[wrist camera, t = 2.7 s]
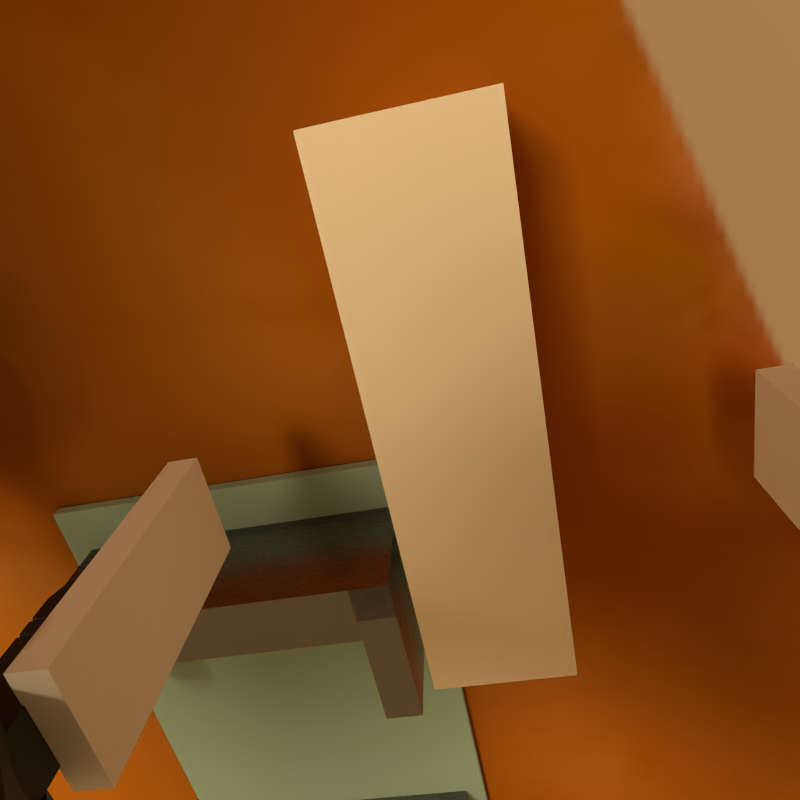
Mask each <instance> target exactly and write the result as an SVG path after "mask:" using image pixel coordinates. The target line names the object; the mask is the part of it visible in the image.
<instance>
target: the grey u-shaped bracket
mask: <svg viewBox="0 0 800 800" xmlns="http://www.w3.org/2000/svg"><path fill="white" fill-rule="evenodd" d="M225 533H226V536H227V539H228V541H229V544H230V547H231V548H230V550H229V552H228V555H227V557H226V559H225V561H224V563H223V565H222V567H221V569H220V571H219V573H218V575H217V577H216V579H215V581H214V583H213V586H212V588H211V590H210V592H209V594H208V596H207V598H206V600H205V602H204V604H203V606H202V608H201V610H200V612H199V614H198V617H197V619H196V621H195V623H194V625H193V627H192V629H191V631H190V633H189V635H188V637H187V639H186V641H185V643H184V645H183V647H182V650H181V652H180V654H179V656H178V658H177V660H176V662H175V663H178V662H187V661H195V660H204V659H212V658H221V657H229V656H238V655H246V654H255V653H263V652H272V651H280V650H289V649H297V648H306V647H314V646H323V645H331V644H340V643H348V642H357V641H363V643H364V646H365V649H366V653H367V656H368V659H369V663H370V666H371V669H372V672H373V676H374V679H375V682H376V686H377V689H378V692H379V695H380V699H381V702H382V705H383V709H384V712H385V715H386V718H387V719H391V718H400V717H410V716H420V715H423V690H424V645H423V641H422V637H421V633H420V629H419V626H418V622H417V618H416V614H415V610H414V606H413V602H412V598H411V594H410V590H409V586H408V582H407V578H406V574H405V570H404V566H403V562H402V559H401V555H400V551H399V547H398V543H397V539H396V535H395V531H394V527H393V523H392V519H391V515H390V511H389V507H385V508H378V509H371V510H364V511H357V512H350V513H343V514H336V515H329V516H322V517H315V518H308V519H301V520H294V521H288V522H281V523H274V524H267V525H260V526H253V527H246V528H239V529H232V530H225ZM99 550H100V549H94V550H91V552H90V553H89V554H88V555H87V557H86V558H85V559H84V561H83V562H82V563H81V565H80V566H79V567H78V569H77V570H76V571H75V573H74V574H73V575H72V577H71V578H70V579H69V581H68V582H70V581H71V580H77V579H78V577H79V576H80V575H81V573H82V572H83V571H84V570H85V568H86V567H87V566H88V564H89V563H90V562H91V561H92V559H93V558H94V557H95V555H96V554H97V553H98V552H99ZM68 582H67V583H68ZM67 583H66V584H67ZM66 584H65V585H66Z"/></svg>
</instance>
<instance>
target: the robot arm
mask: <svg viewBox="0 0 800 800" xmlns="http://www.w3.org/2000/svg"><path fill="white" fill-rule="evenodd" d="M754 477H755V479H756V480H757V481H758V482H759V483H760V484H761V486H762V487H763V488H764V489H765V490H766V492H767V493H768V494H769V495H770V496H771V497H772V499H773V500H774V501H775V502H776V503H777V504H778V506H779V507H780V508H781V509H782V510H783V512H784V513H785V514H786V515H787V516H788V517H789V519H790V520H791V521H792V522H793V523H794V525H795V526H796V527H797V528H798V529H799V530H800V369H799V368H797V367H796V366H795V365H793V364H789V365H782V366H776V367H770V368H763V369H757V370H756V375H755V437H754ZM230 548H231V547H230V544H229V541H228V539H227V536H226V533H225V531H224V528H223V525H222V523H221V520H220V517H219V515H218V512H217V509H216V507H215V504H214V501H213V499H212V496H211V493H210V491H209V488H208V485H207V483H206V480H205V477H204V475H203V472H202V469H201V467H200V464H199V461H198V459H197V458H191V459H184V460H178V461H172V462H168V463H167V464H166V466H165V467H164V468H163V469H162V471H161V472H160V473H159V475H158V476H157V477H156V478H155V480H154V481H153V482H152V484H151V485H150V486H149V487H148V489H147V490H146V491H145V493H144V494H143V495H142V496H141V498H140V499H139V500H138V502H137V503H136V504H135V505H134V507H133V508H132V509H131V511H130V512H129V513H128V514H127V516H126V517H125V518H124V520H123V521H122V522H121V523H120V525H119V526H118V527H117V528H116V530H115V531H114V532H113V534H112V535H111V536H110V537H109V539H108V540H107V541H106V543H105V544H104V545H103V546H102V548H101V549H100V550H99V552H98V553H97V554H96V555H95V557H94V558H93V559H92V561H91V562H90V563H89V564H88V566H87V567H86V568H85V570H84V571H83V572H82V573H81V575H80V576H79V577H78V579H77V580H71V581H70V582H68V583H67V584H66V585H65V586H63V587H62V588H61V589H60V590H58V591H57V592H56V593H55V594H53V595H52V596H51V597H50V598H48V600H47V601H46V602H45V603H44V605H43V606H42V607H41V608H40V610H39V611H38V612H37V613H36V614H35V616H34V617H33V621H32V622H29V623H28V624H27V626H26V627H25V628H24V629H23V631H22V632H21V633H20V638H16V639H15V640H14V642H13V643H12V644H11V645H10V647H9V648H8V649H7V650H6V652H5V653H4V654H3V655H2V657H1V658H0V800H53V798H52V797H51V795H50V794H49V792H48V790H47V789H48V787H49V785H50V784H51V782H52V780H53V778H54V777H55V775H56V773H57V772H58V770H59V768H60V770H61V772H62V773H63V775H64V777H65V778H66V780H67V782H68V783H69V785H70V787H71V788H72V790H73V792H75V791H87V790H99V789H111V788H115V786H116V784H117V782H118V780H119V778H120V776H121V774H122V771H123V769H124V767H125V765H126V763H127V761H128V759H129V757H130V755H131V753H132V751H133V749H134V747H135V745H136V743H137V740H138V738H139V736H140V734H141V732H142V730H143V728H144V726H145V724H146V722H147V720H148V718H149V716H150V714H151V712H152V709H153V707H154V705H155V703H156V701H157V699H158V697H159V695H160V693H161V691H162V689H163V687H164V685H165V683H166V681H167V678H168V676H169V674H170V672H171V670H172V668H173V666H174V664H175V662H176V660H177V658H178V656H179V654H180V652H181V650H182V647H183V645H184V643H185V641H186V639H187V637H188V635H189V633H190V631H191V629H192V627H193V625H194V623H195V621H196V619H197V617H198V614H199V612H200V610H201V608H202V606H203V604H204V602H205V600H206V598H207V596H208V594H209V592H210V590H211V588H212V586H213V583H214V581H215V579H216V577H217V575H218V573H219V571H220V569H221V567H222V565H223V563H224V561H225V559H226V557H227V555H228V552H229V550H230Z"/></svg>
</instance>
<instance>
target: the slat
mask: <svg viewBox="0 0 800 800" xmlns="http://www.w3.org/2000/svg"><path fill="white" fill-rule="evenodd" d="M293 133H294V137H295V141H296V145H297V149H298V153H299V157H300V161H301V164H302V168H303V172H304V176H305V180H306V184H307V188H308V192H309V196H310V200H311V204H312V208H313V212H314V216H315V220H316V224H317V228H318V231H319V235H320V239H321V243H322V247H323V251H324V255H325V259H326V263H327V267H328V271H329V275H330V279H331V283H332V287H333V291H334V295H335V298H336V302H337V306H338V310H339V314H340V318H341V322H342V326H343V330H344V334H345V338H346V342H347V346H348V350H349V354H350V358H351V362H352V365H353V369H354V373H355V377H356V381H357V385H358V389H359V393H360V397H361V401H362V405H363V409H364V413H365V417H366V421H367V425H368V428H369V432H370V436H371V440H372V444H373V448H374V452H375V456H376V460H377V464H378V468H379V472H380V476H381V480H382V484H383V488H384V492H385V495H386V499H387V503H388V507H389V511H390V515H391V519H392V523H393V527H394V531H395V535H396V539H397V543H398V547H399V551H400V555H401V559H402V562H403V566H404V570H405V574H406V578H407V582H408V586H409V590H410V594H411V598H412V602H413V606H414V610H415V614H416V618H417V622H418V626H419V629H420V633H421V637H422V641H423V645H424V649H425V653H426V657H427V661H428V665H429V669H430V673H431V677H432V681H433V685H434V689H435V690H438V689H448V688H458V687H467V686H477V685H486V684H496V683H505V682H515V681H524V680H534V679H544V678H553V677H563V676H572V675H577V668H576V660H575V652H574V644H573V636H572V628H571V620H570V612H569V604H568V596H567V588H566V580H565V572H564V564H563V556H562V548H561V540H560V532H559V524H558V516H557V508H556V500H555V492H554V484H553V476H552V468H551V460H550V452H549V444H548V436H547V428H546V420H545V412H544V404H543V396H542V388H541V380H540V372H539V364H538V356H537V348H536V340H535V332H534V324H533V317H532V309H531V301H530V293H529V285H528V277H527V269H526V261H525V253H524V245H523V237H522V229H521V221H520V213H519V205H518V197H517V189H516V181H515V173H514V165H513V157H512V149H511V141H510V133H509V125H508V117H507V109H506V101H505V93H504V85H503V83H500V84H496V85H491V86H487V87H482V88H478V89H473V90H469V91H464V92H460V93H456V94H451V95H447V96H442V97H438V98H433V99H429V100H425V101H420V102H416V103H411V104H407V105H403V106H398V107H394V108H389V109H385V110H380V111H376V112H372V113H367V114H363V115H358V116H354V117H350V118H345V119H341V120H336V121H332V122H328V123H323V124H319V125H315V126H310V127H306V128H301V129H297V130H293Z"/></svg>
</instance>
